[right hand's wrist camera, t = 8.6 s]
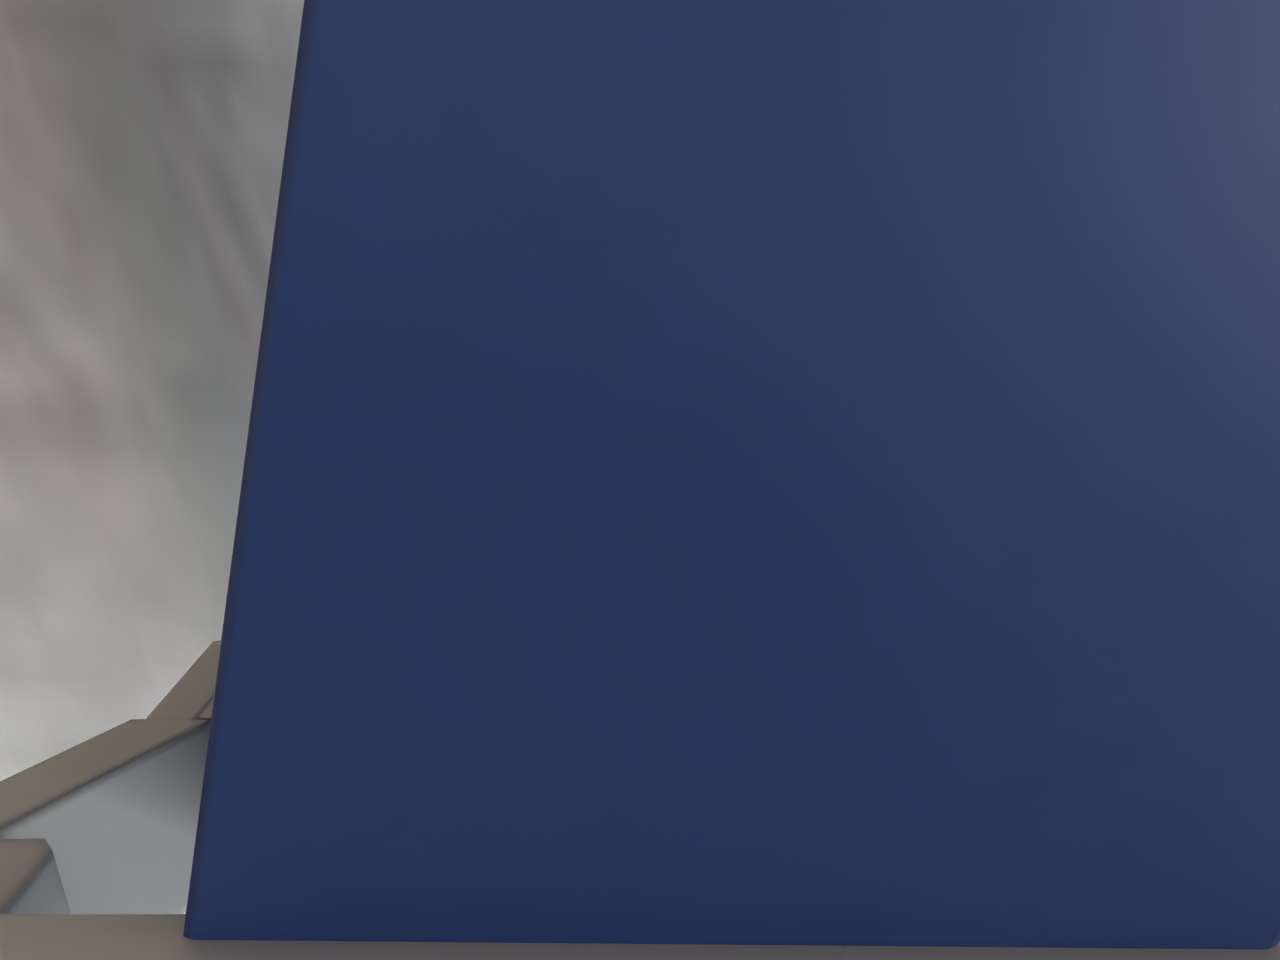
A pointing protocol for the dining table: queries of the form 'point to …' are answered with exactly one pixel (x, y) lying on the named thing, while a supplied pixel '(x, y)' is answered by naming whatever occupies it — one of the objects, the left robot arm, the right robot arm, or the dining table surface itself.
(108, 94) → the dining table surface
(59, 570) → the dining table surface
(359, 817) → the box
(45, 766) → the right robot arm
